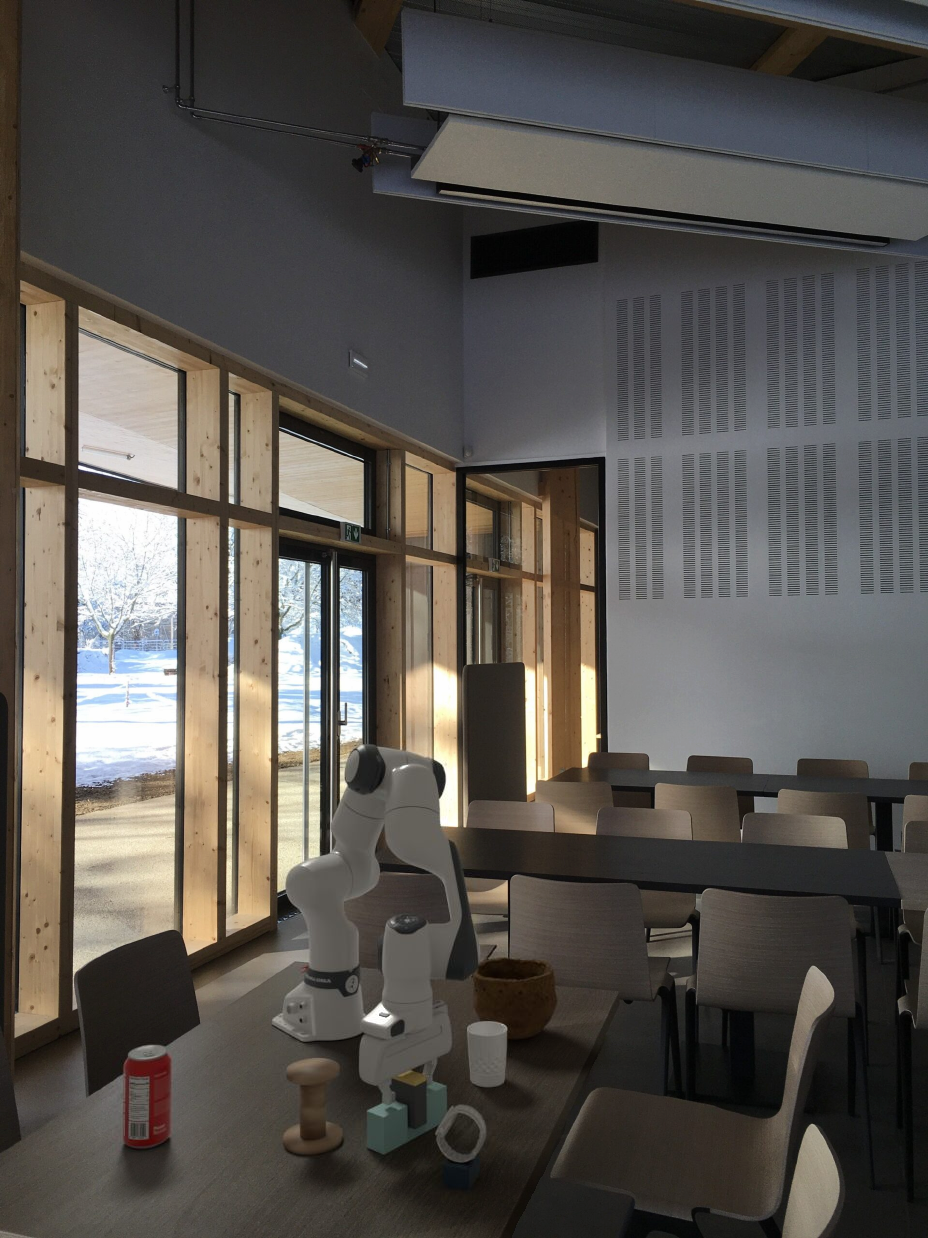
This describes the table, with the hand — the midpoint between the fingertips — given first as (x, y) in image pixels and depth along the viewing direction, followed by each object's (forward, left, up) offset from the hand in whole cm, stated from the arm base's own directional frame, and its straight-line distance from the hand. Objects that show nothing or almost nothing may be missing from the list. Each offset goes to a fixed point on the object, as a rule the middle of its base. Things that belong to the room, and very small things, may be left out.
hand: (407, 1094), depth 168 cm
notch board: (0, 0, -7) cm, 7 cm away
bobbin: (-11, -12, -7) cm, 18 cm away
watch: (+17, -6, -7) cm, 19 cm away
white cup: (-3, +26, -7) cm, 27 cm away
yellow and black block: (0, 0, -5) cm, 5 cm away
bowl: (-13, +48, -7) cm, 50 cm away
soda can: (-33, -30, -7) cm, 45 cm away
